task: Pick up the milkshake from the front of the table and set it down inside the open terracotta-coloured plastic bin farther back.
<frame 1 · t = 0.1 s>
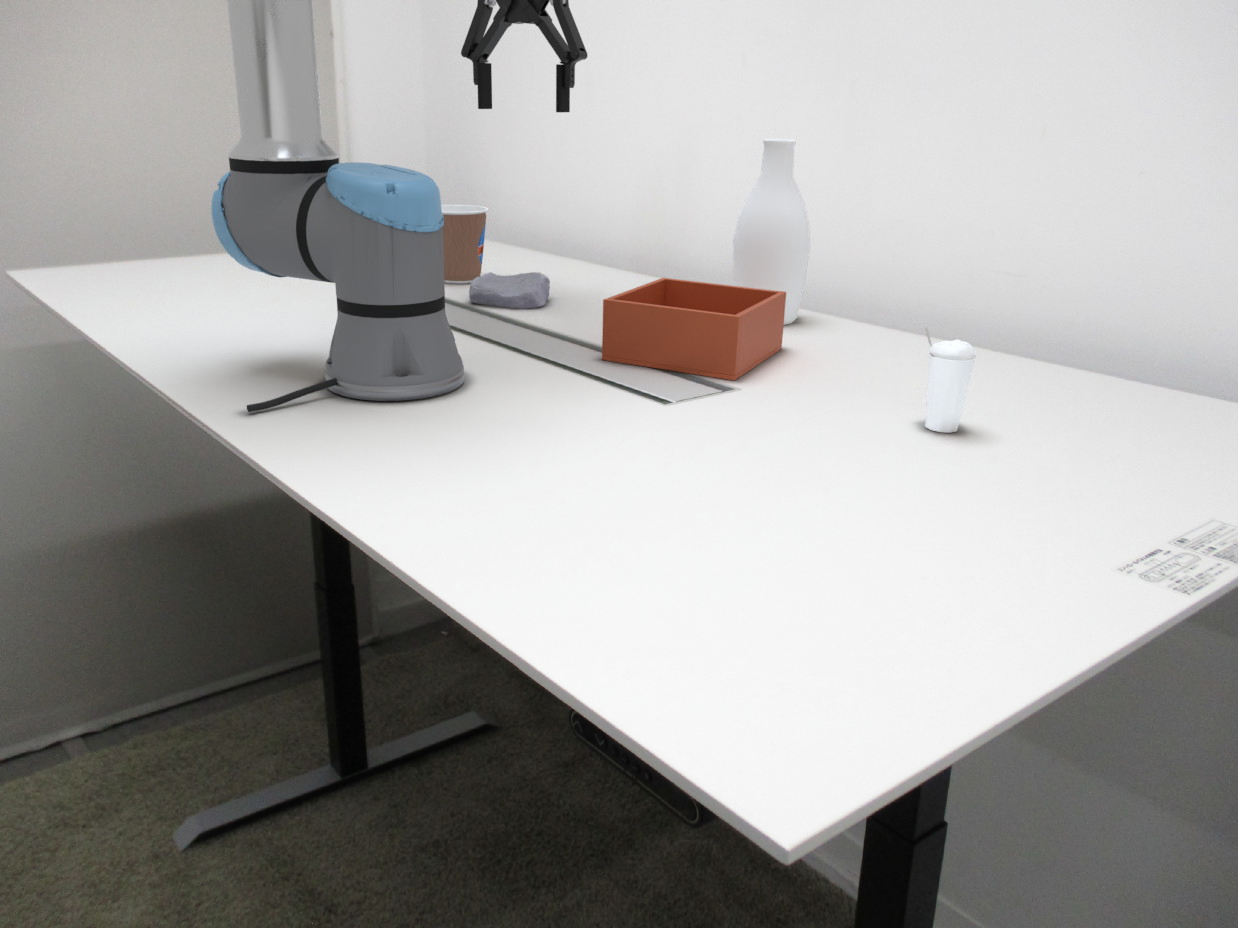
hand: (523, 111, 151), 28 cm above the table, tool pointing down, fingers open, 13 cm apart
stone block: (508, 303, 156), on the table
coffee cup: (459, 281, 172), on the table
bin: (694, 354, 129), on the table
bottle: (765, 320, 150), on the table
milkshake: (937, 428, 104), on the table
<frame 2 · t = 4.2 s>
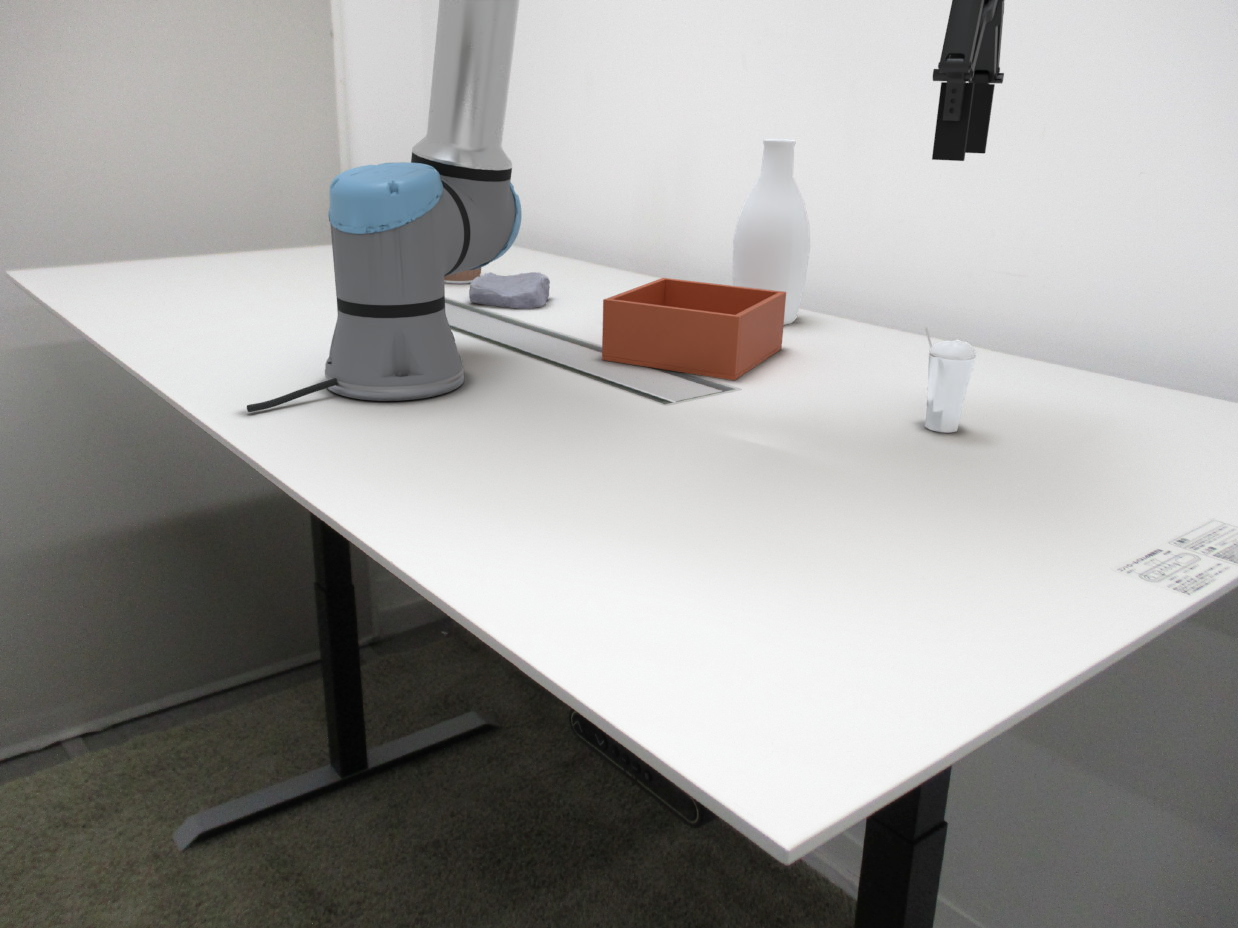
hand: (960, 157, 96), 27 cm above the table, tool pointing down, fingers open, 13 cm apart
nothing on the table moved.
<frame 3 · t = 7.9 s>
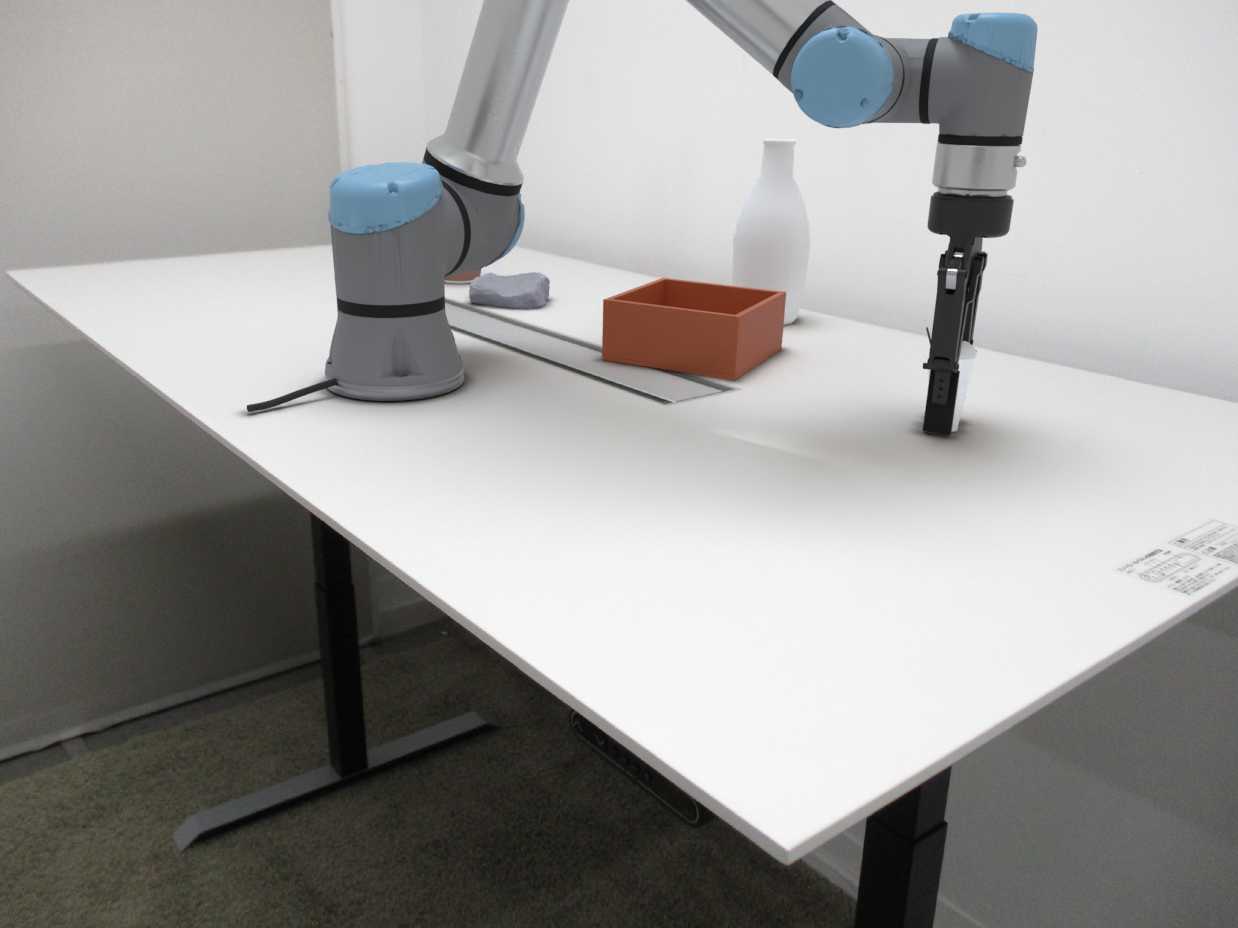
hand: (941, 425, 104), 0 cm above the table, tool pointing down, fingers closed on milkshake, 4 cm apart
milkshake: (937, 428, 104), on the table, touching gripper
everything else where it was.
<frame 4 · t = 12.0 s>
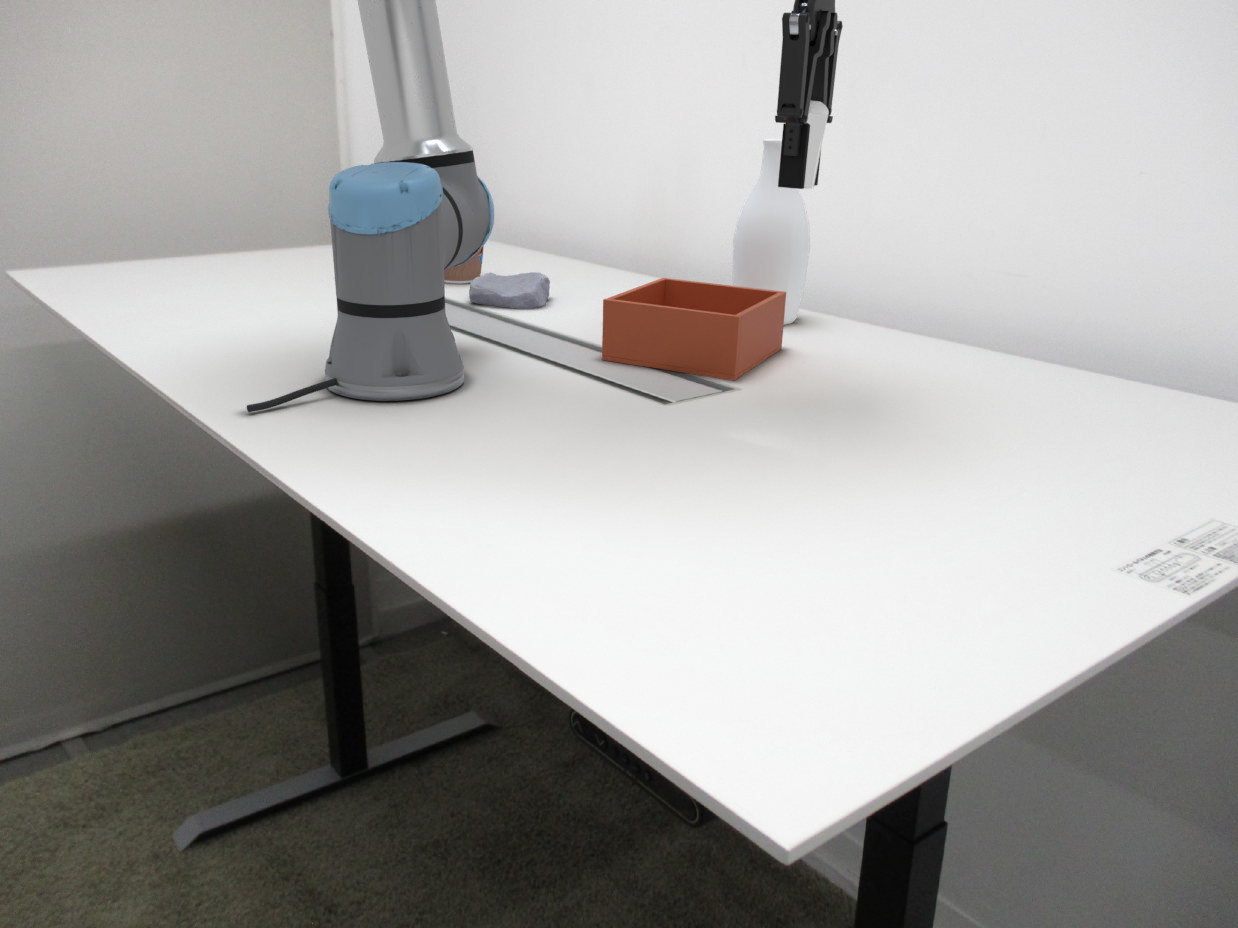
hand: (798, 185, 111), 22 cm above the table, tool pointing down, fingers closed on milkshake, 4 cm apart
milkshake: (794, 189, 111), point 22 cm above the table, touching gripper
everything else where it was.
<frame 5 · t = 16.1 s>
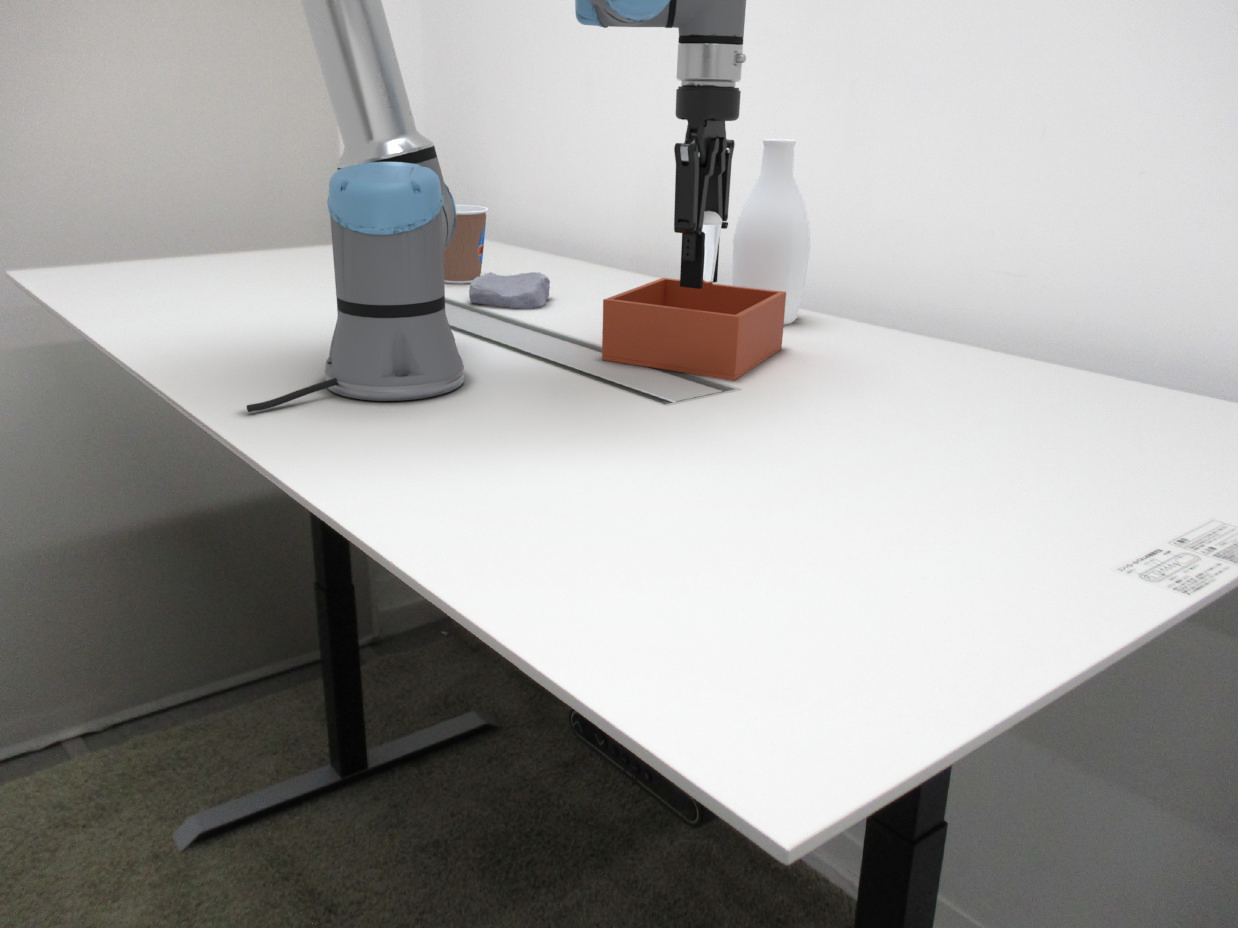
hand: (698, 283, 126), 9 cm above the table, tool pointing down, fingers closed on milkshake, 4 cm apart
milkshake: (696, 286, 126), point 9 cm above the table, touching gripper
everything else where it was.
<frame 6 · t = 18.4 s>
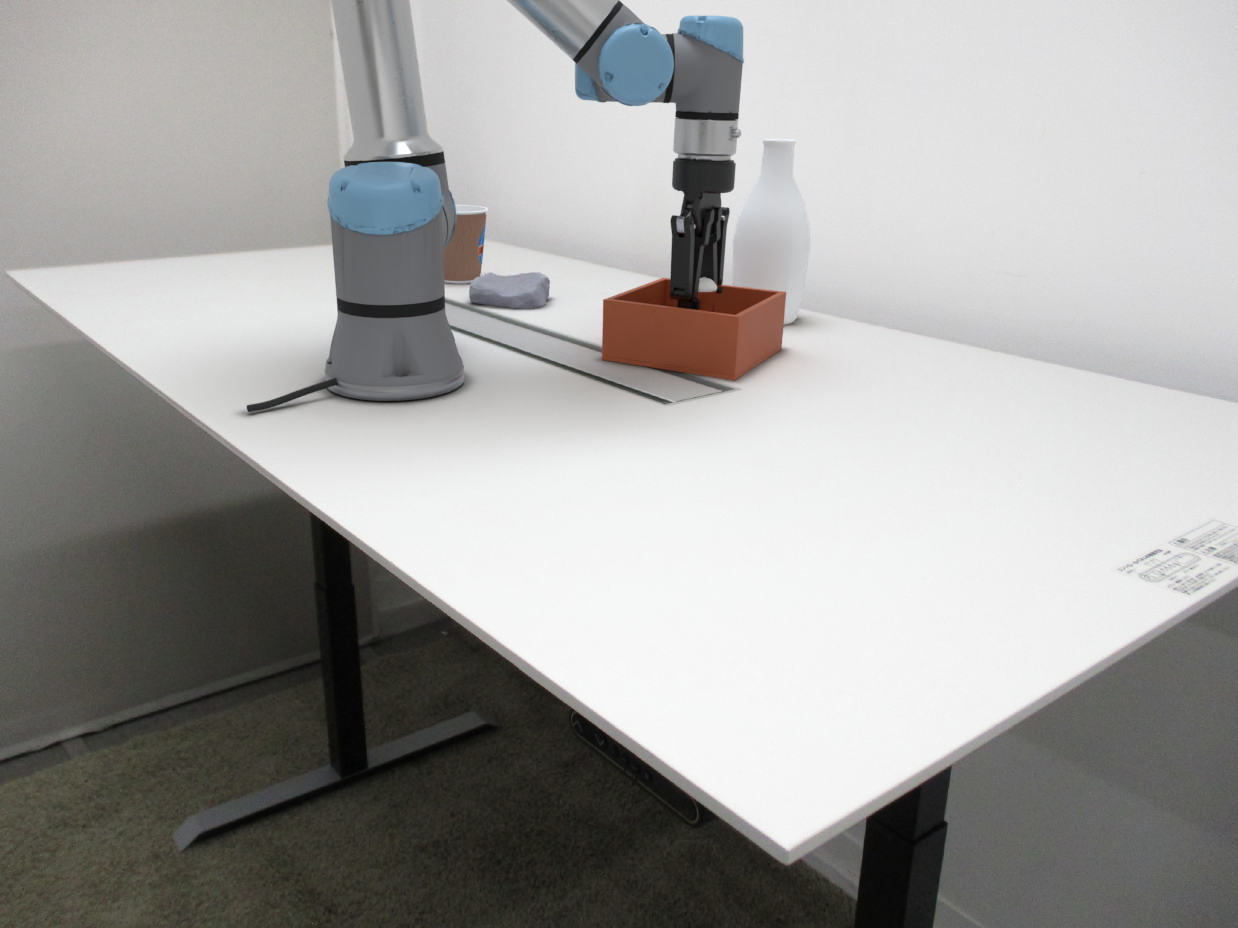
hand: (693, 347, 129), 1 cm above the table, tool pointing down, fingers closed on milkshake, 4 cm apart
milkshake: (691, 350, 129), point 1 cm above the table, touching gripper
everything else where it was.
when the fingers open (3 cm above the table, at t = 24.3 s): milkshake drops 2 cm, resting on bin.
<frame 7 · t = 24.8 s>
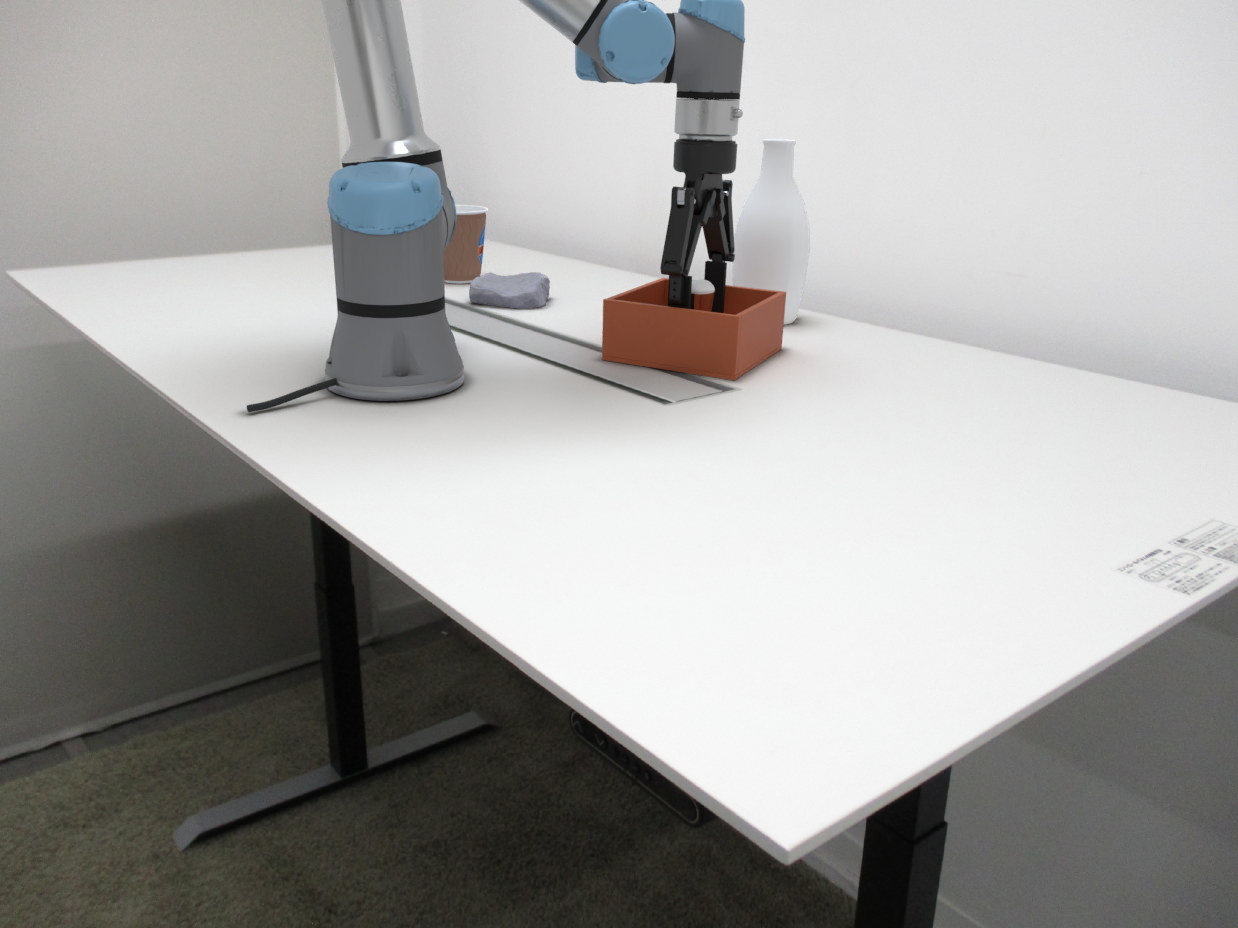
hand: (696, 320, 128), 4 cm above the table, tool pointing down, fingers open, 11 cm apart
milkshake: (690, 352, 128), resting on bin
everything else where it was.
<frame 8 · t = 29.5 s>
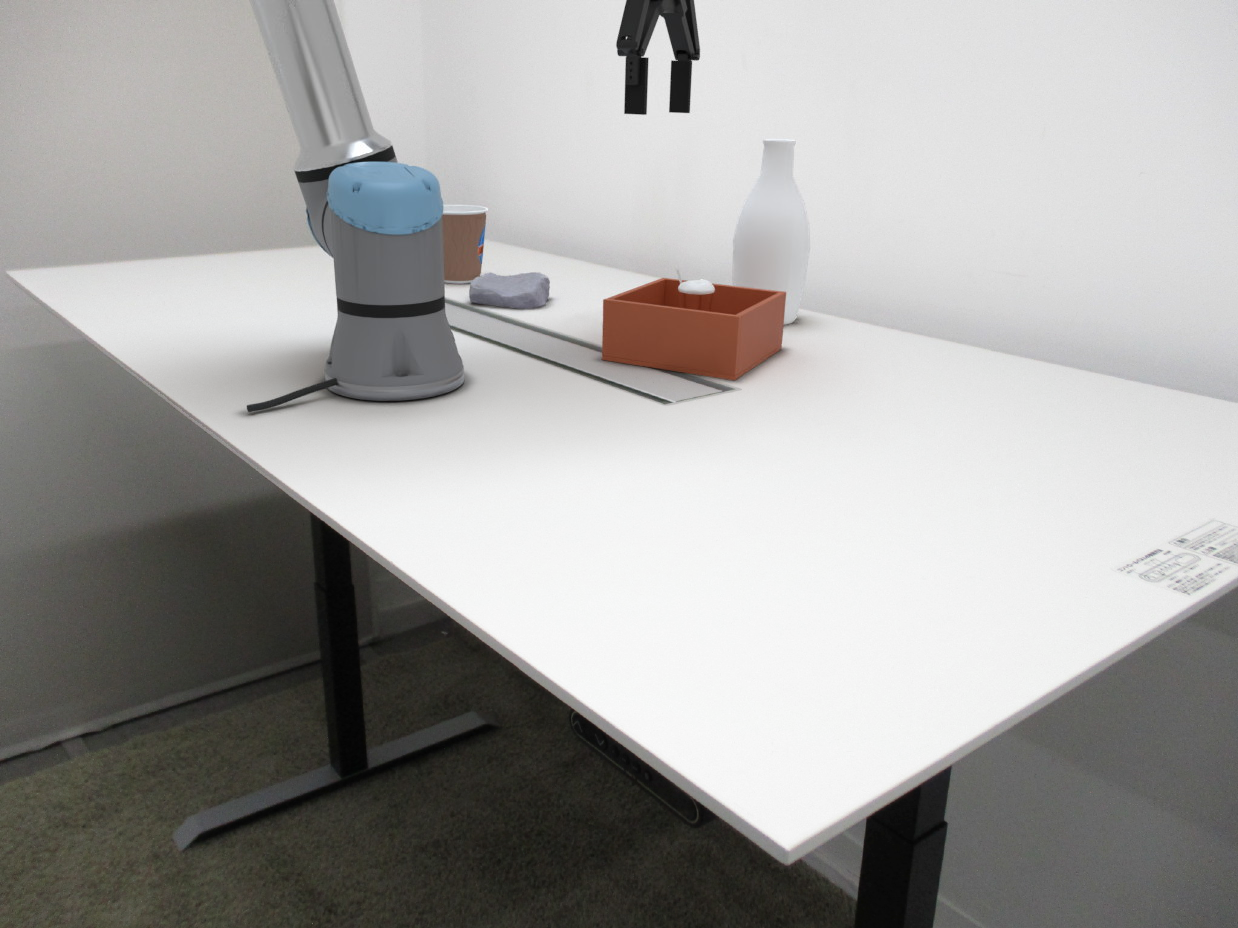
hand: (658, 114, 130), 29 cm above the table, tool pointing down, fingers open, 13 cm apart
nothing on the table moved.
at the end: milkshake inside the target area in the bin (0.9 cm from its centre), point 0.4 cm above the bin's base; the gripper is holding nothing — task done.
